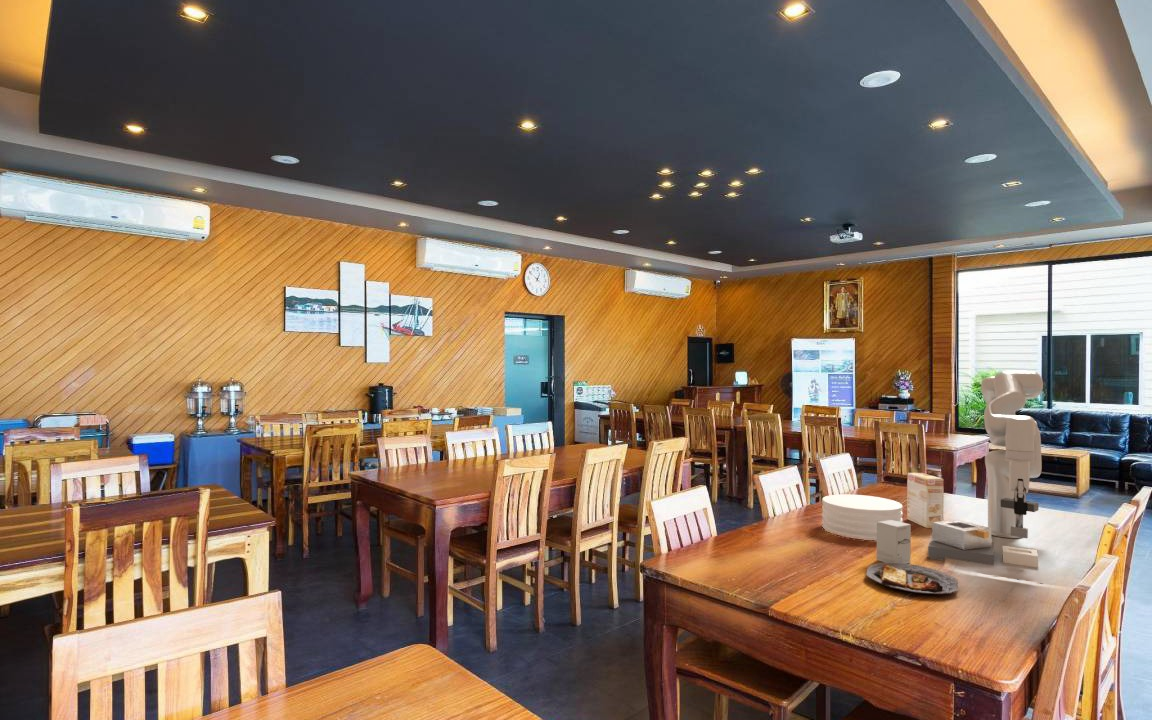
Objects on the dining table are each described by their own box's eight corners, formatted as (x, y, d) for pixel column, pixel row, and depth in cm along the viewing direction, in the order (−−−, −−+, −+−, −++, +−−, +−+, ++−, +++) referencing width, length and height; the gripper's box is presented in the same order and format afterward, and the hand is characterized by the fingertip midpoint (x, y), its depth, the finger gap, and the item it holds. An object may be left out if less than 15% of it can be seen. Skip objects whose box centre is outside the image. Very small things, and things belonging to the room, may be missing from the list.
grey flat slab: (932, 545, 221) (932, 534, 221) (993, 554, 211) (993, 542, 211) (928, 558, 206) (928, 545, 206) (993, 568, 196) (993, 555, 196)
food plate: (957, 606, 165) (957, 593, 165) (861, 589, 177) (861, 577, 177) (958, 579, 186) (958, 567, 186) (872, 566, 198) (872, 555, 198)
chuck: (932, 539, 212) (932, 522, 212) (958, 537, 216) (958, 519, 216) (972, 552, 198) (972, 533, 198) (1000, 549, 202) (1000, 530, 202)
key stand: (1002, 559, 206) (1002, 545, 206) (1036, 564, 201) (1036, 550, 201) (1003, 565, 199) (1003, 551, 199) (1038, 570, 194) (1038, 556, 194)
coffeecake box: (944, 528, 245) (944, 478, 245) (926, 528, 245) (926, 478, 245) (923, 519, 260) (923, 472, 260) (906, 519, 260) (906, 472, 260)
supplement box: (896, 566, 197) (896, 526, 197) (875, 560, 204) (875, 521, 204) (911, 563, 200) (911, 524, 200) (890, 557, 207) (890, 519, 207)
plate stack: (905, 529, 244) (905, 499, 244) (898, 546, 221) (898, 513, 221) (829, 519, 259) (830, 491, 259) (815, 534, 236) (815, 503, 236)
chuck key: (1005, 532, 205) (1005, 497, 205) (1038, 538, 198) (1038, 502, 198) (1000, 534, 202) (1000, 499, 202) (1033, 541, 195) (1033, 504, 195)
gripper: (1005, 452, 209) (1005, 506, 209) (1006, 457, 195) (1006, 515, 195) (1032, 454, 205) (1032, 509, 205) (1035, 459, 191) (1036, 519, 190)
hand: (1019, 511), depth 200 cm, fingers closed on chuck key, 5 cm apart
